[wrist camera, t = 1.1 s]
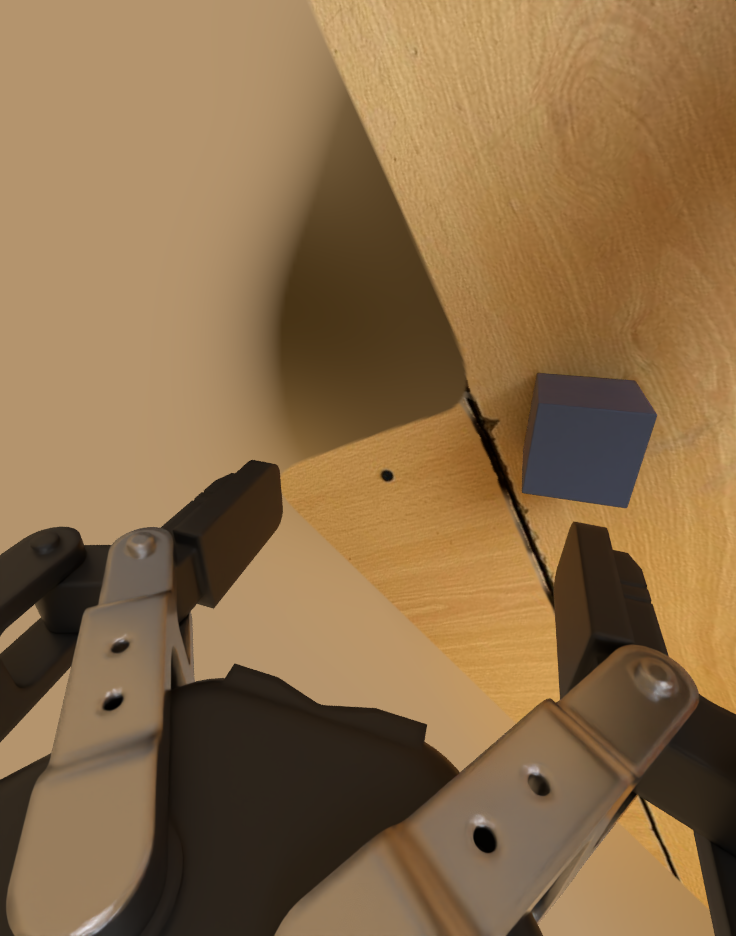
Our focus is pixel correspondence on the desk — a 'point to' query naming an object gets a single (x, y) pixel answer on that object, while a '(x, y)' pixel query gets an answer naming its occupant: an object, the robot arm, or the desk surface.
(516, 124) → the desk surface
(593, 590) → the robot arm
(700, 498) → the desk surface
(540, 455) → the cube
